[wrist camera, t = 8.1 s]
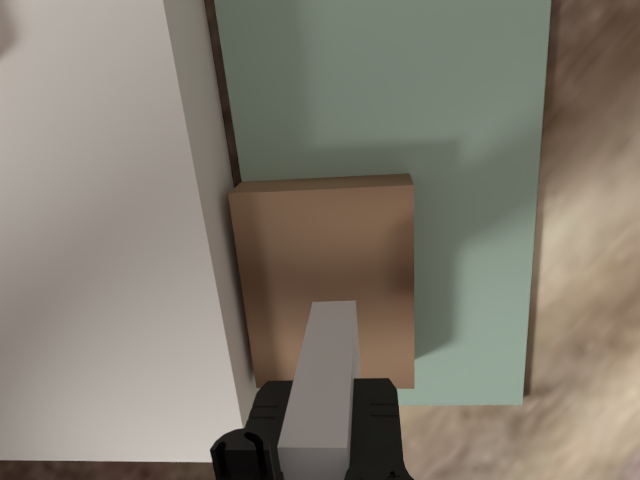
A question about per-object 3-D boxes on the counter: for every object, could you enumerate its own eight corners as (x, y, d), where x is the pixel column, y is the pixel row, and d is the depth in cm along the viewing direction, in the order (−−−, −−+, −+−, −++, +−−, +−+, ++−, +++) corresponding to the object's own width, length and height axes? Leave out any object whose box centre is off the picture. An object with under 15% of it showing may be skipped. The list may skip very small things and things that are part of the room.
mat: (519, 399, 22) (522, 404, 22) (277, 400, 24) (276, 406, 23) (576, -426, 13) (582, -441, 12) (166, -336, 14) (160, -347, 14)
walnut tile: (410, 361, 22) (414, 389, 20) (265, 361, 23) (256, 388, 21) (409, 173, 19) (414, 184, 17) (241, 181, 19) (228, 193, 18)
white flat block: (268, 400, 24) (249, 462, 20) (6, 402, 26) (-55, 459, 22) (151, -332, 14) (74, -473, 11) (-250, -244, 16) (-435, -337, 12)
